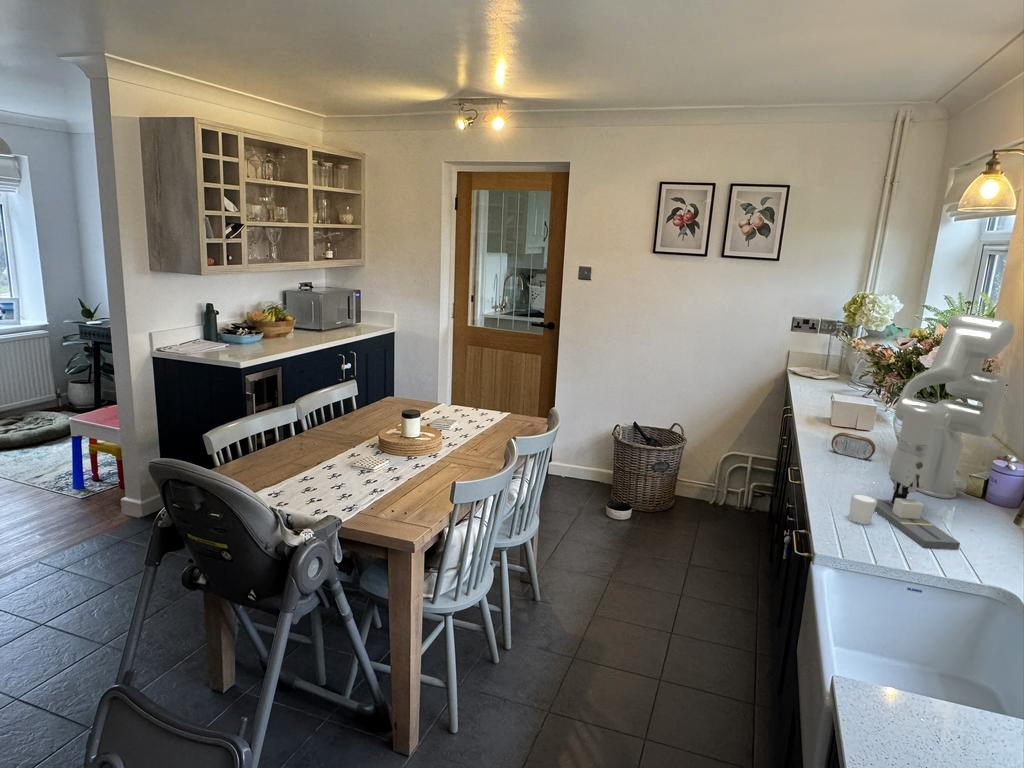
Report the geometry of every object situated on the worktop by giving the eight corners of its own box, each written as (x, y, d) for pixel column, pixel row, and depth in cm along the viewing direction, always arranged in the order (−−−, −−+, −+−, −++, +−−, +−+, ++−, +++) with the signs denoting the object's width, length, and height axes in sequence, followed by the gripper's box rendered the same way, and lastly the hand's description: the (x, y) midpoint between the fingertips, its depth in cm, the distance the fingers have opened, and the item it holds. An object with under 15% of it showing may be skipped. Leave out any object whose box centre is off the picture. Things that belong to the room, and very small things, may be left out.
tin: (872, 460, 257) (877, 439, 255) (872, 462, 254) (876, 441, 252) (830, 450, 264) (834, 429, 262) (828, 452, 262) (833, 431, 260)
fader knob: (891, 512, 202) (895, 498, 201) (911, 513, 203) (914, 499, 202) (900, 517, 198) (903, 503, 197) (919, 519, 199) (923, 504, 198)
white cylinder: (870, 518, 202) (875, 496, 200) (874, 527, 196) (879, 504, 194) (845, 513, 204) (850, 491, 202) (848, 522, 198) (853, 499, 196)
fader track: (865, 504, 212) (866, 498, 212) (895, 506, 213) (897, 500, 212) (923, 547, 185) (925, 540, 185) (958, 549, 186) (960, 542, 185)
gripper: (940, 456, 193) (925, 516, 197) (908, 439, 207) (894, 495, 212) (915, 455, 192) (901, 514, 197) (884, 438, 207) (871, 494, 211)
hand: (897, 504), depth 204 cm, fingers closed
